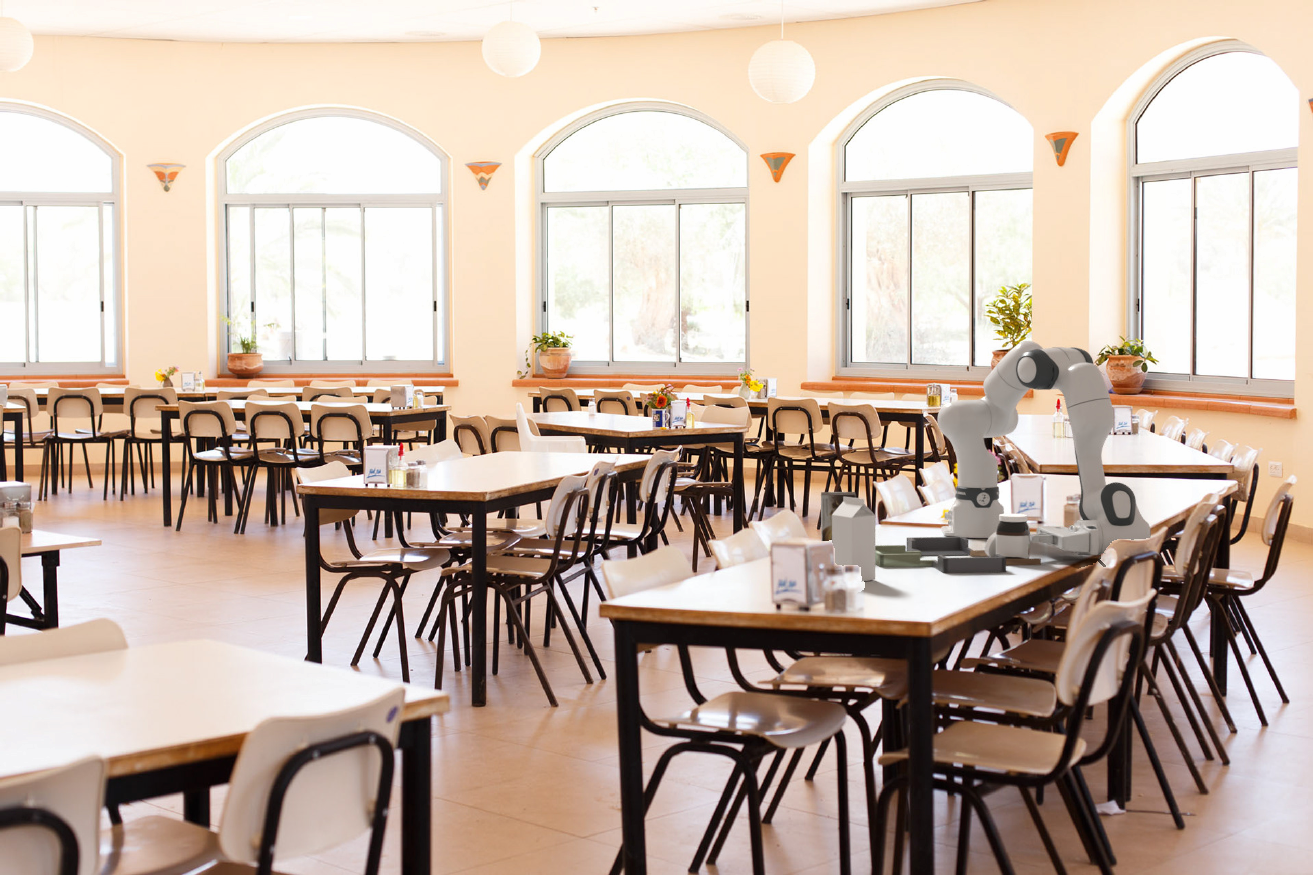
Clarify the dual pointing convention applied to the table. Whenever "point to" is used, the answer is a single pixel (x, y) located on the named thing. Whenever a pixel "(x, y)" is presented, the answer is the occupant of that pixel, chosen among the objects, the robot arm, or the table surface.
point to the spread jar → (1010, 537)
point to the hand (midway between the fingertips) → (1030, 538)
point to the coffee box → (830, 510)
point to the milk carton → (854, 536)
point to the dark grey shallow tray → (970, 564)
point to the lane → (903, 558)
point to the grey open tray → (939, 546)
